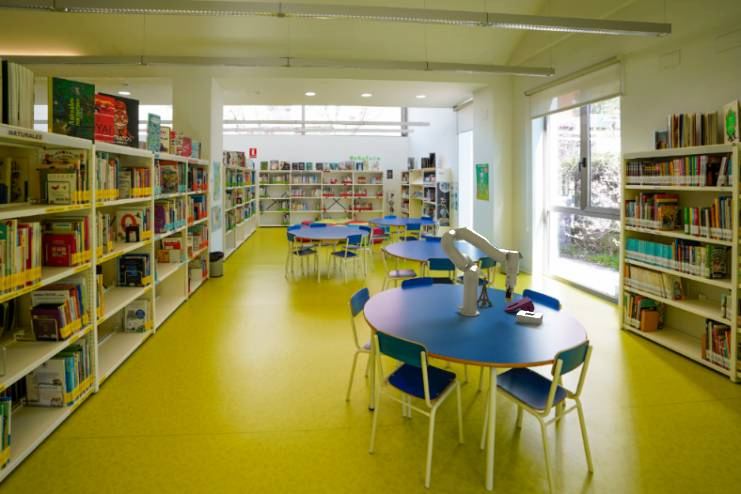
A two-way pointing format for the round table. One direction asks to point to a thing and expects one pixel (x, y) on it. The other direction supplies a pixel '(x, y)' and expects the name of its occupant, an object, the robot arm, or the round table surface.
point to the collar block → (529, 318)
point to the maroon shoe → (521, 305)
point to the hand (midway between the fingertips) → (509, 296)
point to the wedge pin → (510, 300)
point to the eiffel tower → (484, 292)
